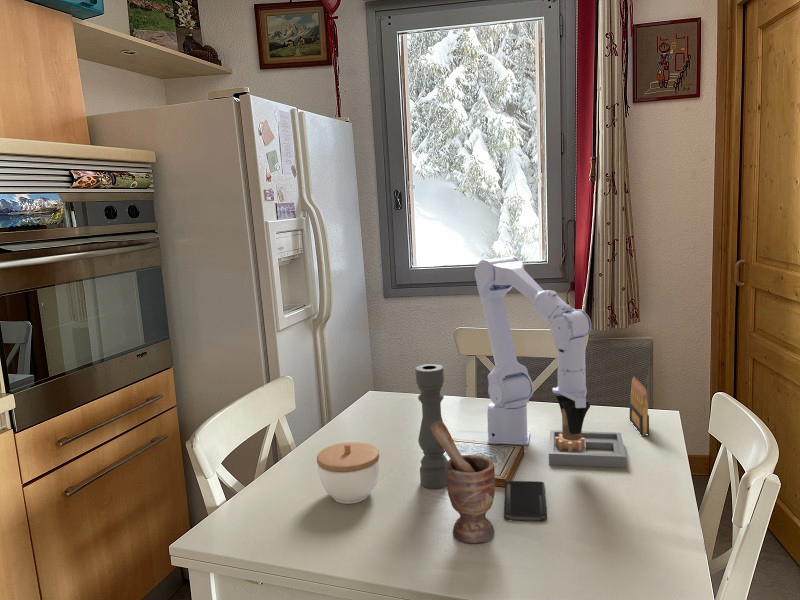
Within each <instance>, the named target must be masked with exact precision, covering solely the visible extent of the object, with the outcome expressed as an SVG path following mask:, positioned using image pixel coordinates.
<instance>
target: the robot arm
mask: <svg viewBox="0 0 800 600" xmlns="http://www.w3.org/2000/svg"><path fill="white" fill-rule="evenodd" d="M474 277H475V282H476V285H477V290H478V294H479V296H480V301H481V305H482V310H483V314H484V315H483V316H484V318H485V319H484V320H485V324H486V328H487V329H486V330H487V333H488V337H489V342H490V343H489V344H490V348H491V352H492V356H493V361H494V367H493V368H492V370H491V371H490V373H488V375H487V381H488V387H487V388H488V390H487V392H488V396H489V398H490V400H491V402H489V403H488V405H487V438H488V440H487V443H488V444H491V445H492V444H493V445H494V444H496V445H519V446H520V445H521V446H523V445H524V446H527V445H529V443H530V436H531V435H530V434H531V431H529V430H528V411H527V410H528V409H527V408H528V407H527V406H528V405H527V404H528V403H530V398H532V396H533V395H534V391H535V390H534V382H533V381H532V379H531V377H530V375H529V372H528V368H527V367H526V366H525V365H523V364H521V363H520V362H519V361H518V358H517V354H516V350H515V345H514V339H513V335H512V332H511V327H510V322H509V317H508V312H507V308H506V303H505V300H504V299H505V297H506V295H507V293H508V292H510V290H511V289H512V288H514V289H515V290H517V291H518V292H519V293H521V294H522V295H523V296H524V297H526V298H527V299H528V300H530V301H531V302H532V310H533V311H534V312H535V313H536V314H537V315H539V316H540V318H541V319H542V320H544V321H545V322H546V323H547V324H548V325H549V327H550V332H551V335H552V336H553V339H554V346H555V348H556V353H557V354H556V357H557V386H556V387H552V388H551V389H552V390H551V391H552V393H553V394H554V396H555V399H556V400H557V403H558V405H559V409H560V413H561V414H562V409H563V408H564V410H565V413H566V416H567V421H568V428H569V432H570V434H580V433H581V430H583V425H584V420H585V417H586V415H587V412H588V411H589V409H590V408H591V403H590V402H589V401H587V398H586V396H587V389H588V388H587V386H586V385H587V382H586V381H587V379H586V376H587V375H586V374H587V373H586V368H587V367H586V337H587V336H588V335H589V334H590V333H591V329H592V321H591V318H590V316H589V315H588V314H587V313H586V311H585V310H583V309H576V308H573V307H572V306H571V305H569V304H567V302H565V301H564V300H563V299H562V298H561V297H560V296H559V295H558V293H557V292H556V291H555V290H552V289H546V290H544V289H543V288H542V287H541V286H540V285H539V284H538V283H537V282H536V280H534V278H532V277H531V275H530V274H529V273H528V272H527V271H526V270H525V263H524V262H522V261H521V260H520V259H519V258H518V257H516V256H515V255H510V256H506V257H499V258H491V259H490V258H489V259H482V260H480V261H479V262H478V263H477V265H476V268H475V270H474Z"/></svg>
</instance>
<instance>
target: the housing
mask: <svg viewBox="0 0 800 600" xmlns="http://www.w3.org/2000/svg"><path fill="white" fill-rule="evenodd" d="M549 431H550V432H549V445H548V465H554V466H557V465H558V466H559V465H560V466H575V467H576V466H577V467H578V466H579V467H596V468H597V467H599V468H600V467H601V468H616V469H617V468H620V469H626V468H627V455H626V451H625V445H624V440H623V437H622V432H613V431H612V432H609V431H584V430H583V431H582V438H581V439H579V440H566V439H564V438H563V437H562V430H554V429H552V430H549ZM587 449H595V450H596V449H601V450H612V451H613V453H611V452H594V451H593V452H590V451H587Z"/></svg>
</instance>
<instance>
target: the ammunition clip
mask: <svg viewBox="0 0 800 600" xmlns="http://www.w3.org/2000/svg"><path fill="white" fill-rule="evenodd" d="M649 415H650V414H649V404H648V393H647V389H646V387H645V386H644V385H643V384H642V382H640V381H639V380H638V379H637V378H636V377H635V376H634V375H633V377H632V379H631V390H630V401H629V418H628V419H630V421H631V422H632V423H633V425H634V426H635V427H636V428H637V430H638V431H639V432H640V434H641V435H646V434H648V435H649V436H650V416H649ZM630 421H629V422H630ZM631 422H630V423H631ZM633 425H632V426H633ZM634 426H633V427H634ZM637 430H636V431H637ZM640 434H639V435H640Z"/></svg>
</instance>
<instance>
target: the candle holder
mask: <svg viewBox="0 0 800 600" xmlns="http://www.w3.org/2000/svg"><path fill="white" fill-rule="evenodd" d="M444 377H445V376H444V366H443V365H441V364H438V363H437V364H436V363H424V364H420V365H418V366H416V367H415V382H416V383H415V384H416V385H417V388H418V389H419V391H420V394H419V395H418V396H417V399H418V401H419V402H420V403H421V411H422V412H421V413H422V414H421V415H422V418H421V423H420V428H419V434H418V441H417V442H418V446H419V447H420V449H421V450H422V451H423V452H422V454H423V456H422V458H421V460H420V467H419V475H420V477H419V480H420V485H421V487H423V488H425V489H427V490H442V489H444V488H447V479H446V470H445V464H446V463H447V461H449V459H447V457H446V456H445V450H444V449H443V448H442V446H441V445H440V444H439V442H438V441H437V440H436V438H435V437H434V435H433V433H432V431H431V429H430V426H431V425H432V424H434V423H435V422H437V421H439V420H441V421H442V422H443V423H444V420H443V417H442V405H441V404H442V401H443V399H444V397H445V396H444V394H443V393H441V390H442V388H443V386H444V382H445V378H444Z"/></svg>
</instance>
